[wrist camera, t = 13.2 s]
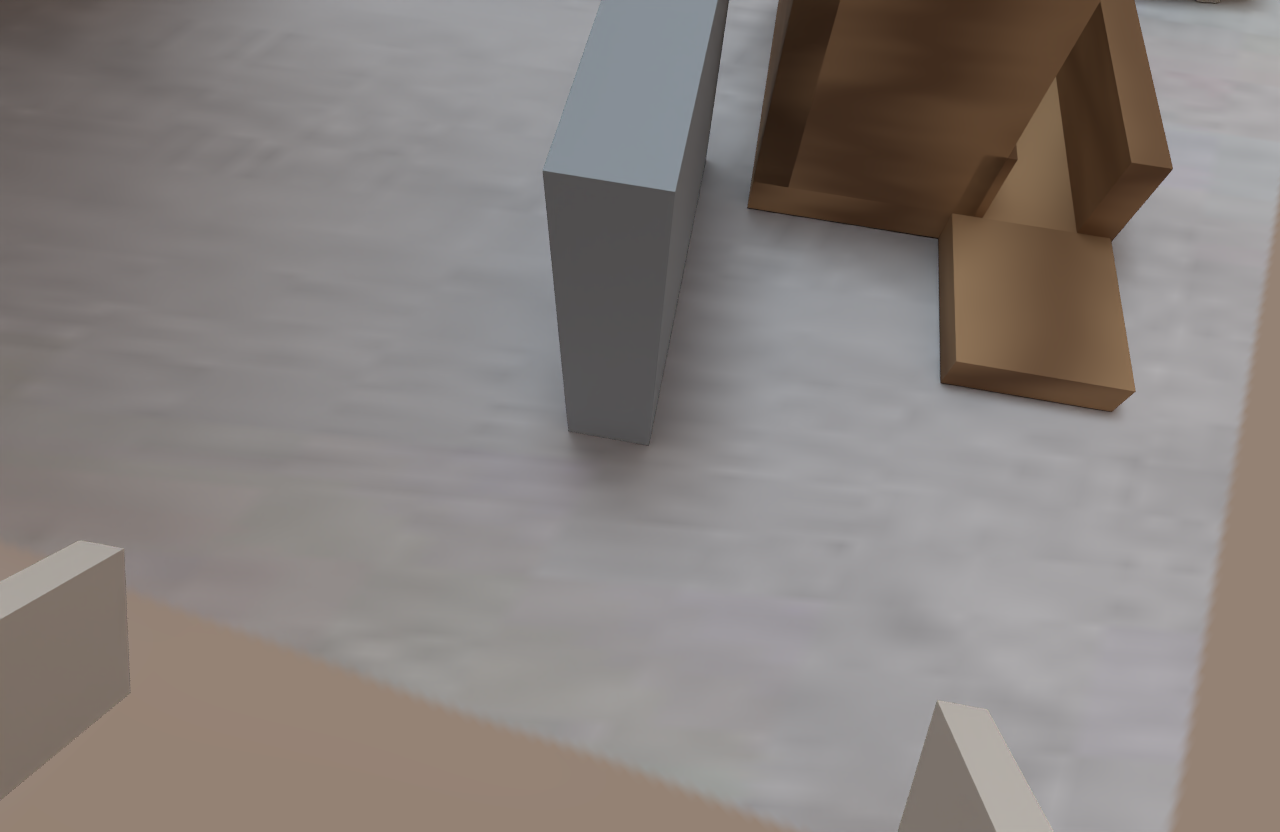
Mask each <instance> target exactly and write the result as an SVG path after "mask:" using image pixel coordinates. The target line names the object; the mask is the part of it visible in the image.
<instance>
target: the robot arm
mask: <svg viewBox="0 0 1280 832" xmlns="http://www.w3.org/2000/svg"><path fill="white" fill-rule="evenodd" d="M129 693H130V673H129V649H128V626H127V603H126V580H125V557H124V548H119V547H114V546H108V545H103V544H97V543H92V542H87V541H81V540H79V541H77V542H75V543H73V544H71V545H69V546H67V547H65V548H64V549H62V550H60V551H58V552H56V553H54V554H52V555H50V556H48V557H46V558H44V559H42V560H40V561H38V562H37V563H35V564H33V565H31V566H29V567H27V568H25V569H23V570H21V571H19V572H17V573H15V574H14V575H12V576H10V577H8V578H6V579H4V580H2V581H0V800H1V799H3V798H4V797H5V796H6V795H7V794H9V793H10V792H11V791H12V790H13V789H15V788H16V787H17V786H18V785H20V784H21V783H22V782H23V781H24V780H25V779H27V778H28V777H29V776H30V775H32V774H33V773H34V772H35V771H36V770H38V769H39V768H40V767H41V766H42V765H44V764H45V763H46V762H47V761H48V760H50V759H51V758H52V757H53V756H55V755H56V754H57V753H58V752H59V751H61V750H62V749H63V748H64V747H66V746H67V745H68V744H69V743H70V742H72V741H73V740H74V739H75V738H76V737H78V736H79V735H80V734H81V733H82V732H84V731H85V730H86V729H87V728H89V726H91V725H92V724H93V723H95V722H96V721H97V720H98V719H99V718H101V717H102V716H103V715H104V714H106V713H107V712H108V711H109V710H110V709H112V707H114V706H115V705H116V704H118V703H119V702H120V701H121V700H122V699H124V698H125V697H126V696H127V695H128V694H129ZM898 832H1054V831H1053V829H1052V827H1051V826H1050V824H1049V822H1048V820H1047V818H1046V816H1045V815H1044V813H1043V811H1042V809H1041V807H1040V805H1039V803H1038V802H1037V800H1036V798H1035V796H1034V794H1033V792H1032V791H1031V789H1030V787H1029V785H1028V783H1027V781H1026V779H1025V778H1024V776H1023V774H1022V772H1021V770H1020V768H1019V767H1018V765H1017V763H1016V761H1015V759H1014V757H1013V755H1012V754H1011V752H1010V750H1009V748H1008V746H1007V744H1006V743H1005V741H1004V739H1003V737H1002V735H1001V733H1000V731H999V730H998V728H997V726H996V724H995V722H994V720H993V719H992V717H991V715H990V713H989V711H988V710H987V709H982V708H977V707H971V706H966V705H960V704H955V703H950V702H944V701H939V700H937V702H936V706H935V709H934V712H933V716H932V719H931V722H930V726H929V729H928V732H927V736H926V739H925V742H924V746H923V749H922V752H921V756H920V759H919V762H918V766H917V769H916V772H915V776H914V779H913V782H912V786H911V789H910V792H909V796H908V799H907V802H906V806H905V809H904V812H903V816H902V819H901V823H900V826H899V829H898Z"/></svg>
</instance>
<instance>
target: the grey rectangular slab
mask: <svg viewBox="0 0 1280 832" xmlns="http://www.w3.org/2000/svg"><path fill="white" fill-rule="evenodd" d="M728 3H729V0H601V3H600V6H599V9H598V12H597V15H596V17H595V20H594V23H593V26H592V29H591V32H590V35H589V38H588V41H587V43H586V46H585V49H584V52H583V55H582V58H581V61H580V64H579V67H578V70H577V72H576V75H575V78H574V81H573V84H572V87H571V90H570V93H569V96H568V98H567V101H566V104H565V107H564V110H563V113H562V116H561V119H560V122H559V125H558V127H557V130H556V133H555V136H554V139H553V142H552V145H551V148H550V151H549V153H548V156H547V159H546V162H545V165H544V168H543V179H544V189H545V200H546V210H547V220H548V230H549V240H550V250H551V260H552V271H553V281H554V291H555V301H556V311H557V321H558V332H559V342H560V352H561V362H562V372H563V382H564V392H565V403H566V413H567V423H568V431H571V432H576V433H582V434H587V435H593V436H598V437H604V438H609V439H615V440H620V441H626V442H631V443H637V444H643V445H648V446H649V442H650V437H651V432H652V427H653V422H654V417H655V412H656V407H657V402H658V397H659V392H660V387H661V382H662V377H663V372H664V367H665V362H666V357H667V352H668V347H669V342H670V337H671V332H672V327H673V322H674V317H675V312H676V307H677V302H678V297H679V292H680V287H681V282H682V277H683V272H684V267H685V262H686V257H687V252H688V247H689V242H690V237H691V232H692V227H693V222H694V217H695V212H696V207H697V202H698V197H699V192H700V187H701V182H702V177H703V172H704V167H705V162H706V155H707V149H708V142H709V135H710V128H711V121H712V114H713V107H714V100H715V93H716V86H717V79H718V72H719V65H720V58H721V51H722V45H723V38H724V31H725V24H726V17H727V10H728Z"/></svg>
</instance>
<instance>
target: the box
mask: <svg viewBox="0 0 1280 832" xmlns="http://www.w3.org/2000/svg"><path fill="white" fill-rule="evenodd" d="M1172 169H1173V167H1172V163H1171V158H1170V154H1169V150H1168V145H1167V141H1166V136H1165V132H1164V128H1163V123H1162V119H1161V115H1160V110H1159V106H1158V102H1157V97H1156V93H1155V88H1154V84H1153V80H1152V75H1151V71H1150V67H1149V62H1148V58H1147V54H1146V49H1145V45H1144V40H1143V36H1142V32H1141V27H1140V23H1139V19H1138V14H1137V10H1136V5H1135V1H1134V0H779V3H778V9H777V15H776V22H775V28H774V35H773V42H772V48H771V55H770V61H769V68H768V75H767V81H766V88H765V95H764V101H763V108H762V114H761V121H760V128H759V134H758V141H757V147H756V154H755V161H754V167H753V174H752V180H751V187H750V194H749V200H748V207H747V208H753V209H759V210H766V211H772V212H778V213H784V214H791V215H797V216H803V217H810V218H816V219H822V220H828V221H835V222H841V223H847V224H853V225H860V226H866V227H872V228H878V229H885V230H891V231H897V232H903V233H910V234H916V235H922V236H929V237H935V238H938V239H939V303H940V367H941V383H946V384H952V385H958V386H964V387H970V388H976V389H982V390H988V391H994V392H999V393H1005V394H1011V395H1017V396H1023V397H1029V398H1035V399H1041V400H1046V401H1052V402H1058V403H1064V404H1070V405H1076V406H1082V407H1088V408H1094V409H1099V410H1105V411H1111V412H1112V411H1113V410H1114V409H1115V408H1117V407H1118V406H1119V405H1120V404H1121V403H1123V402H1124V401H1125V400H1126V399H1127V398H1128V397H1130V396H1131V395H1132V394H1133V393H1134V392H1136V391H1135V385H1134V379H1133V372H1132V366H1131V360H1130V354H1129V348H1128V342H1127V336H1126V329H1125V323H1124V317H1123V311H1122V305H1121V299H1120V292H1119V286H1118V280H1117V274H1116V268H1115V262H1114V256H1113V249H1112V243H1111V242H1112V240H1113V239H1114V238H1115V237H1116V236H1117V234H1118V233H1119V232H1120V231H1121V230H1122V229H1123V227H1124V226H1125V225H1126V224H1127V223H1128V221H1129V220H1130V219H1131V218H1132V217H1133V216H1134V214H1135V213H1136V212H1137V211H1138V210H1139V208H1140V207H1141V206H1142V205H1143V204H1144V203H1145V201H1146V200H1147V199H1148V198H1149V197H1150V195H1151V194H1152V193H1153V192H1154V191H1155V190H1156V188H1157V187H1158V186H1159V185H1160V184H1161V182H1162V181H1163V180H1164V179H1165V178H1166V177H1167V175H1168V174H1169V173H1170V172H1171V171H1172Z"/></svg>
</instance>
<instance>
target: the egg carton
mask: <svg viewBox="0 0 1280 832" xmlns="http://www.w3.org/2000/svg"><path fill="white" fill-rule="evenodd" d="M1196 1H1199V2H1207V3H1219V2H1220V1H1221V0H1196Z"/></svg>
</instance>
